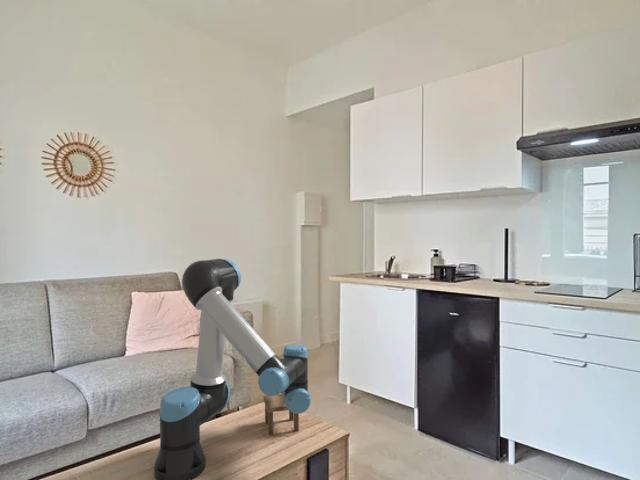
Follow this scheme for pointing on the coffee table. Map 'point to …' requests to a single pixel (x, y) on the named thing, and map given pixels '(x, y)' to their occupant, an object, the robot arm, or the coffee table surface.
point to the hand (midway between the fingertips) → (279, 365)
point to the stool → (277, 405)
